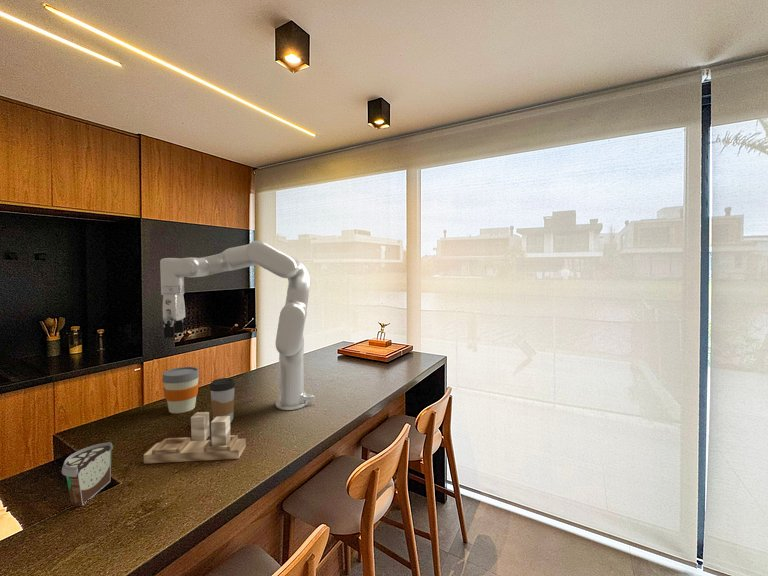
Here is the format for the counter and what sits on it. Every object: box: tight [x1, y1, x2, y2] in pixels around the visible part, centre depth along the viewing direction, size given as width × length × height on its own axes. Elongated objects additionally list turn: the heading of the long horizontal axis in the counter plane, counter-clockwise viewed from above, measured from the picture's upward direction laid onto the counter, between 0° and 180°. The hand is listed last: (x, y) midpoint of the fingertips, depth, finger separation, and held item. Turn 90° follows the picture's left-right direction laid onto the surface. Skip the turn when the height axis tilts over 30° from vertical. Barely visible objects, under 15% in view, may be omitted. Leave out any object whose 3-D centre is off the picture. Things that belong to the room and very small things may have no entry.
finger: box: [190, 411, 210, 441], centre depth 113 cm, size 5×4×8 cm
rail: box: [143, 416, 247, 465], centre depth 103 cm, size 26×7×10 cm, turn 96°
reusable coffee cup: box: [162, 366, 200, 414], centre depth 137 cm, size 13×13×15 cm
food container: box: [61, 441, 114, 507], centre depth 85 cm, size 12×6×10 cm, turn 5°
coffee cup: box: [209, 377, 236, 424], centre depth 125 cm, size 8×8×15 cm
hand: (174, 335), depth 133 cm, fingers open, 9 cm apart
